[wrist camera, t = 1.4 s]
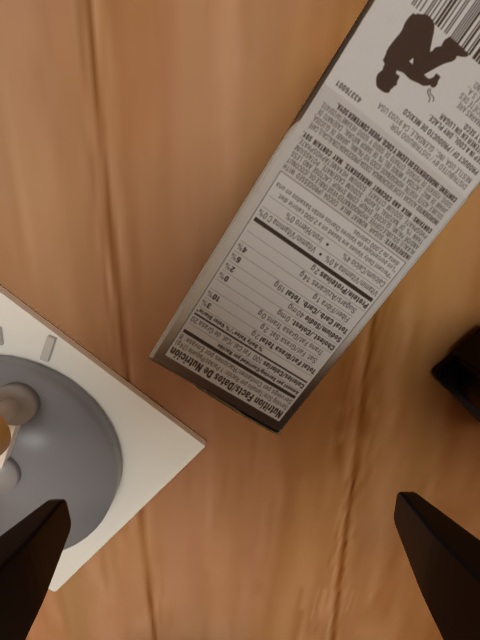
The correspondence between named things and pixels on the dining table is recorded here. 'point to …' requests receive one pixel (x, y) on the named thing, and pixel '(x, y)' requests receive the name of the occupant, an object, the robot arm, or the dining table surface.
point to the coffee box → (337, 211)
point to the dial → (54, 448)
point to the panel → (122, 412)
